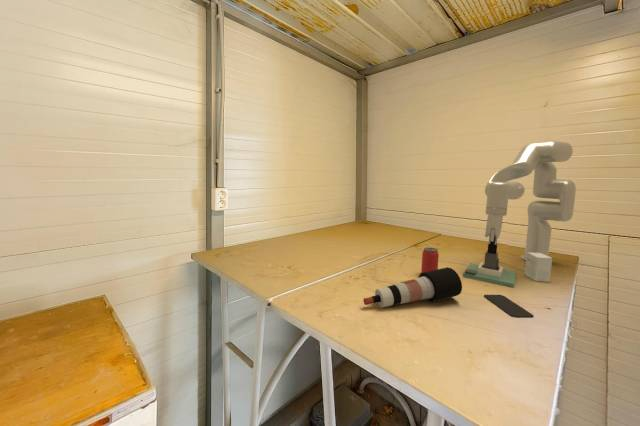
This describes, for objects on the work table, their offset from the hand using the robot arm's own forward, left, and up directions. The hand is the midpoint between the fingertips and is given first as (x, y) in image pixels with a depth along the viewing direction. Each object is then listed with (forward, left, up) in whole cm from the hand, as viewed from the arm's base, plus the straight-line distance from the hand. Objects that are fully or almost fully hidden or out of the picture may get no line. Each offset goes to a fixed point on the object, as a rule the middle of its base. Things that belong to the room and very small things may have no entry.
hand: (491, 252), depth 115 cm
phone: (+29, +8, -11) cm, 32 cm away
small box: (-10, +16, -11) cm, 22 cm away
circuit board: (0, 0, -11) cm, 11 cm away
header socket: (0, 0, -9) cm, 9 cm away
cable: (+47, -18, -11) cm, 52 cm away
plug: (0, 0, -9) cm, 9 cm away
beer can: (+17, -21, -11) cm, 29 cm away
